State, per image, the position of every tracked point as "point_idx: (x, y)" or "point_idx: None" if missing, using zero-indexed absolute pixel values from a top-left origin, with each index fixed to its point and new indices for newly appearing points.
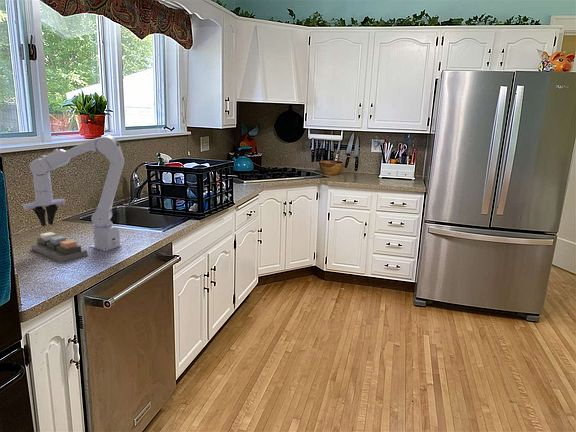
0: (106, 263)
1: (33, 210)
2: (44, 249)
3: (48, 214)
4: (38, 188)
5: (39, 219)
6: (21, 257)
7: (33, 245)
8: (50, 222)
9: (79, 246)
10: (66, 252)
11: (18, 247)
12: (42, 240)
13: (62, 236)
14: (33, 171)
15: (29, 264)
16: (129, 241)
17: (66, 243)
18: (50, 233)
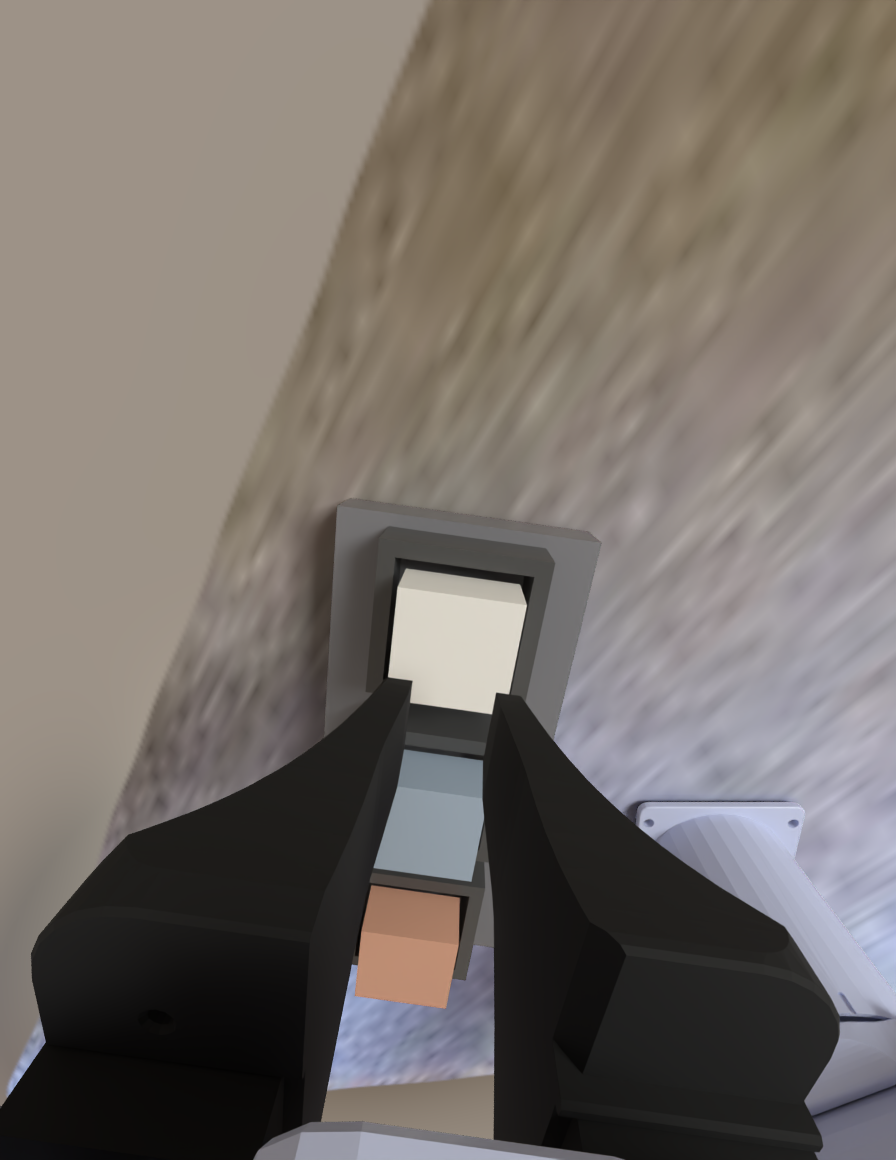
0: (468, 1042)
1: (150, 832)
2: (332, 725)
3: (519, 839)
4: None
5: (347, 728)
6: (209, 607)
7: (334, 553)
8: (485, 780)
9: (455, 978)
10: (359, 940)
11: (312, 309)
12: (376, 646)
13: (477, 835)
14: None
15: (189, 770)
16: (887, 905)
17: (369, 990)
18: (480, 659)
